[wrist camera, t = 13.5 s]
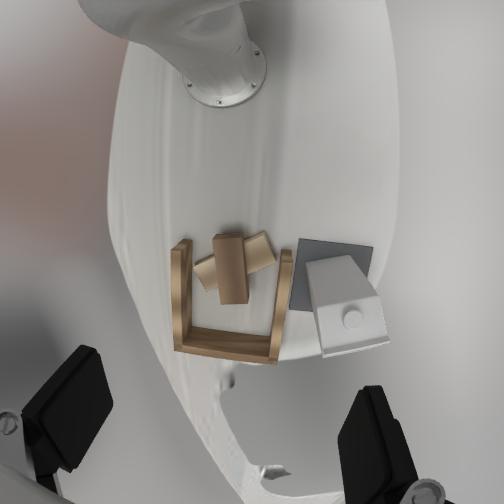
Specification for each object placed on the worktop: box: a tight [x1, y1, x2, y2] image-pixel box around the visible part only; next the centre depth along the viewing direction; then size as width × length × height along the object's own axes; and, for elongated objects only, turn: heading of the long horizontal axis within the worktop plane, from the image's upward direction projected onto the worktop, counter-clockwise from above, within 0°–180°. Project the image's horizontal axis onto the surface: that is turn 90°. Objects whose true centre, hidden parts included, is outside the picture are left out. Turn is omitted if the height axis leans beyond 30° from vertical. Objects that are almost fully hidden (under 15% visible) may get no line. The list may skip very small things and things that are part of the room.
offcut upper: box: [212, 233, 249, 305], centre depth 42 cm, size 4×10×3 cm, turn 5°
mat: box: [289, 239, 373, 312], centre depth 45 cm, size 12×12×1 cm
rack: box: [171, 239, 293, 365], centre depth 45 cm, size 18×17×6 cm
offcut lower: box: [193, 232, 276, 292], centre depth 45 cm, size 4×12×3 cm, turn 116°
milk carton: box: [306, 255, 390, 358], centre depth 36 cm, size 7×7×19 cm
